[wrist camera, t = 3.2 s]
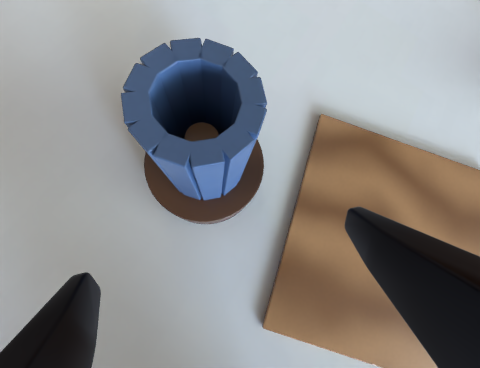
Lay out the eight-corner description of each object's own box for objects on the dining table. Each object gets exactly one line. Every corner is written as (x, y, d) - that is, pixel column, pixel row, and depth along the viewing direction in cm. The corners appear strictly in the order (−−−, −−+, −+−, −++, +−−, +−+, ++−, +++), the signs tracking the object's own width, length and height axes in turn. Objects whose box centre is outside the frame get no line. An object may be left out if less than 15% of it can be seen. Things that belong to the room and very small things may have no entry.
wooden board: (467, 394, 19) (472, 398, 19) (262, 326, 19) (262, 328, 19) (484, 174, 24) (488, 173, 24) (319, 115, 24) (321, 113, 23)
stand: (238, 238, 20) (252, 239, 13) (139, 204, 20) (90, 184, 12) (268, 146, 22) (295, 98, 15) (178, 114, 22) (158, 49, 14)
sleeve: (229, 210, 17) (241, 186, 9) (153, 184, 17) (95, 136, 9) (252, 141, 19) (282, 65, 10) (183, 116, 18) (156, 20, 10)
